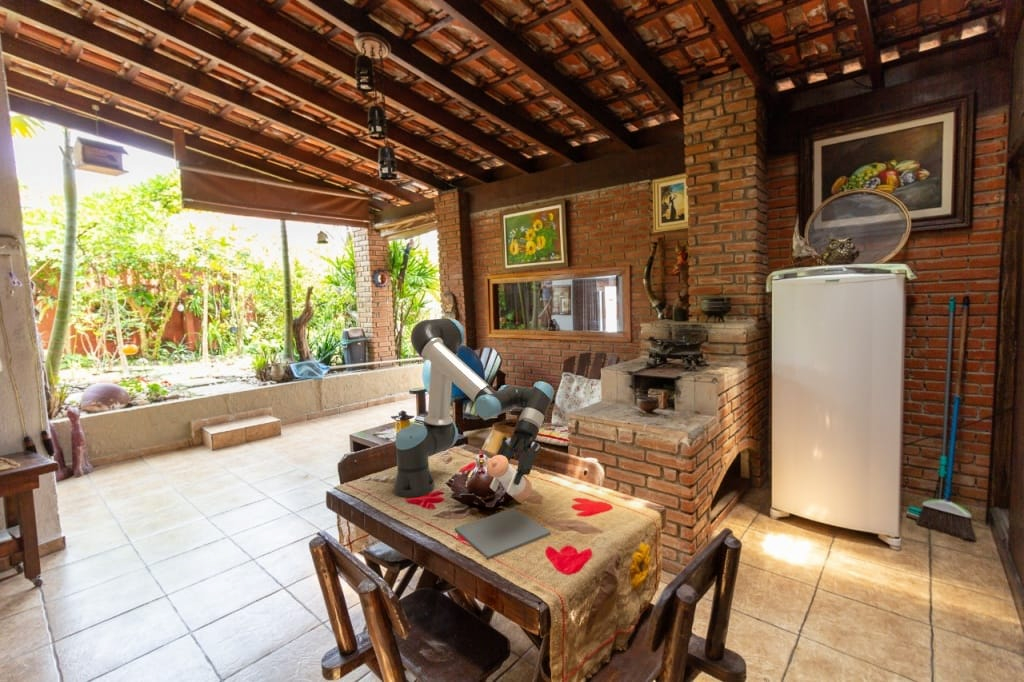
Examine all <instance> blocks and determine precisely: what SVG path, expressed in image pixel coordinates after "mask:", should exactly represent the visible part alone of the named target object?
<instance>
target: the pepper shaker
mask: <svg viewBox="0 0 1024 682" xmlns="http://www.w3.org/2000/svg"><path fill="white" fill-rule="evenodd" d="M509 462H510V461H509ZM509 462H508V459H507V458H506V457H505V456H503V455H497V454H496V455H494V456H492V457H491V458H489V460H488V462H487V465H486V470H487V473H488V475H489V476H490V477H492V478H493V477H495V478H497V479H498V480H499V481H500V483H501V485H502V487H503V488H504V489H505V491H506V490H507V488H508V486H509V483H510V481H511V478H512V476H513V474H514V471H515V472H517V471H516V470H517V469H516V468H514V467H512V466H511V465H510V463H509ZM532 490H533V487H532V483H531V481H530V479H528V478H527V477H526V476H525V475H523V476H522V478H521V481H520V483H519V485H516V488H515V490H514V493H513V495H512V496H511V497H512V499H514V500H516V501H519V502H522V501H524V500H526V499H527V498H528V497H529V496H530V494H531V493H532Z"/></svg>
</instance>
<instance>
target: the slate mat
mask: <svg viewBox="0 0 1024 682" xmlns="http://www.w3.org/2000/svg"><path fill="white" fill-rule="evenodd" d="M454 531H455V532H456V533H457V534H459V536H461V537H462V538H463V539H464V540H465V542H468V543H469V544H470V545H471V546H472V547H473V548H474V549H475V550H477V551H478V553H480V554H481V555H482V554H483V555H484V556H483V557H485V559H487V560H491V559H493V558H495V556H496V557H498V556H501V555H502V554H505V553H508V552H510V551H513V550H515V549H518V548H521V547H523V546H525V545H528V544H530V543H533V542H535V541H537V540H540V539H543V538H546V537H547V536H550V535H552V531H551V530H548V529H547V527H544V526H543V525H541V524H539V523H538V522H536V521H535V520H533V519H531V517H528V516H527V515H525V514H523V513H522V512H520V511H519V510H517V509H516V508H515V507H512V508H509V509H506V510H503V511H501V512H497V513H495V514H491V515H489V516H486V517H483V518H480V519H477V520H474V521H472V522H469V523H465V524H463V525H459V526H456V527H454ZM490 558H491V559H490Z"/></svg>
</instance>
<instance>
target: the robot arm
mask: <svg viewBox="0 0 1024 682" xmlns="http://www.w3.org/2000/svg"><path fill="white" fill-rule="evenodd" d="M465 337H466V334H465V329H464V327H463V325H462V324H461V322H459V320H457V319H454V318H451V317H450V318H448V317H443V318H442V317H441V318H436V319H435V318H434V319H424V320H421V321H419V322H417V323H416V324H415V325H414V326H413V328H412V331H411V333H410V342H411V343H410V344H411V345H412V347H413V349H414V351H415V352H416V353H417V354H418V355H419V356H420V357H421V358H422V359H423V360H424V361H428V362H430V375H429V391H428V406H427V407H428V409H427V415H426V416H424V418H423V424H413V425H409V426H406V427H403V428H401V429H400V430H398V431H397V433H396V435H395V445H394V446H395V449H396V451H395V452H396V467H397V473H396V475H395V481H394V484H393V493H394V494H395V495H396V496H398V497H403V498H416V497H420V496H424V495H426V494H429V493H430V492H432V491H433V490H434V489H435V479H434V477H433V474H432V471H431V470H430V464H429V457H432V456H435V455H436V454H439V453H441V452H445V451H447V450H448V449H450V448H452V447H453V446H454V445H455V444H456V442H457V440H458V438H459V430H458V427H456V426H457V424H456V423H455V422H454V418H453V417H452V416H451V415H450V412H451V401H452V385H453V384H454V386H456V387H457V388H458V389H459V390H461V391H462V393H464V394H465V395H466V396H467V397H468V398H469V399H470V400H471V401H472V402H474V409H475V411H476V414H477V415H478V416H479V417H480V418H482V419H491V418H495V417H497V416H499V415H501V414H504V413H507V412H509V411H512V410H514V409H521V410H522V411H521V413H520V415H519V418H518V421H517V423H516V425H515V428H514V432H513V434H512V435H511V436H510V437H506V436H504V437H503V438H502V442H501V445H500V446H499V449H498V451H497V453H496V455H503V456H505V457H506V458H507V459H508V462H510V460H511V459H512V458H513V457H514V456H515V455H516V454H517V453H518V452H519V456H518V457H519V458H518V463H517V464H518V465H517V469H515V470H516V471H517V472H515V471H514V474H513V476H512V478H511V481H510V483H509V486H508V488H507V490H506V489H505V492H506V493H507V494H508V495H509V496H511V497H512V495H513V493H514V490H515V488H516V485H519V483H520V481H521V478H522V476H525V475H526V476H529V475H530V473H531V471H532V468H533V465H534V463H535V461H536V458H537V457H536V456H537V455H538V453H539V451H540V450H541V446H540V445H539V443H538V442H536V439H537V437H538V435H539V433H540V429H541V428H542V424H543V422H544V419H545V417H546V414H547V411H548V409H549V407H550V405H551V403H552V401H553V398H554V394H555V389H554V388H553V386H552V385H551V384H550V383H548V382H545V381H536V382H535V383H534V384H533V386H532V387H527V386H526V387H525V386H519V385H512V384H504V385H503V384H502V385H501V386H500V388H498V390H495V389H494V388H493V386H491V385H489V384H488V383H487V381H485V380H484V379H483V378H482V377H481V376H479V375H478V374H477V373H476V372H475V371H474V370H473V369H472V368H471V367H469V366H468V364H466V363H465V362H464V361H463V360H461V359H460V357H458V353H459V352H458V351H459V347H461V346H462V345H463V344H464V341H465ZM452 383H453V384H452ZM529 449H530V450H529ZM492 478H493V479H492V482H491V483H490V484H489V488H490V489H491V490H492V491H493V492H497V489H498V487H499V485H500V483H501V482H500V481H499V480H498V479H497V478H495V477H492Z"/></svg>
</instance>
